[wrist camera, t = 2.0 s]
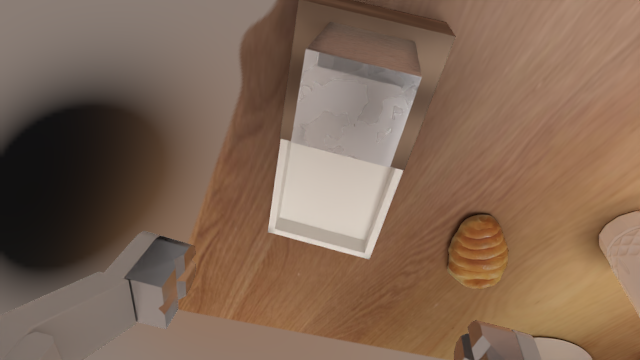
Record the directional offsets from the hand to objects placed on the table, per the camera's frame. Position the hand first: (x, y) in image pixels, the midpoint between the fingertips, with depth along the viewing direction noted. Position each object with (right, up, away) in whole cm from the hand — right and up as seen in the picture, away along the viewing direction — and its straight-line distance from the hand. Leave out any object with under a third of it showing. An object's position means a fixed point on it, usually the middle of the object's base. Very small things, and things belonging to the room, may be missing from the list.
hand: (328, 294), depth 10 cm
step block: (+4, +14, +25) cm, 28 cm away
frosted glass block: (+3, +12, +19) cm, 22 cm away
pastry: (+19, -5, +34) cm, 39 cm away
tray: (+1, +3, +32) cm, 32 cm away
